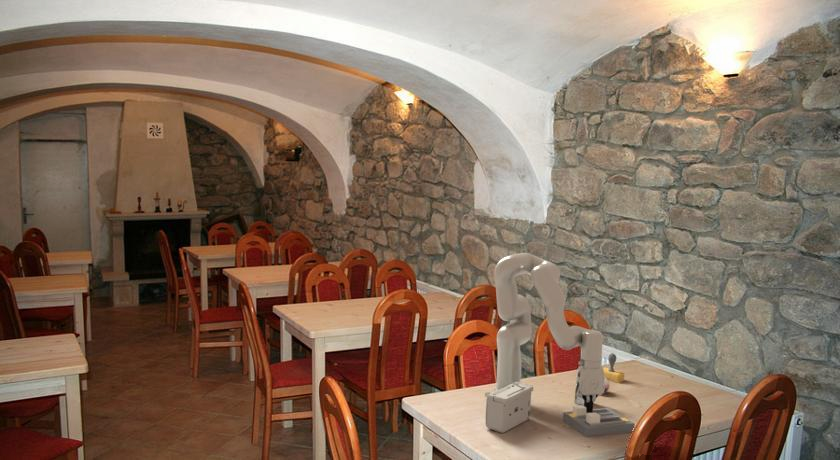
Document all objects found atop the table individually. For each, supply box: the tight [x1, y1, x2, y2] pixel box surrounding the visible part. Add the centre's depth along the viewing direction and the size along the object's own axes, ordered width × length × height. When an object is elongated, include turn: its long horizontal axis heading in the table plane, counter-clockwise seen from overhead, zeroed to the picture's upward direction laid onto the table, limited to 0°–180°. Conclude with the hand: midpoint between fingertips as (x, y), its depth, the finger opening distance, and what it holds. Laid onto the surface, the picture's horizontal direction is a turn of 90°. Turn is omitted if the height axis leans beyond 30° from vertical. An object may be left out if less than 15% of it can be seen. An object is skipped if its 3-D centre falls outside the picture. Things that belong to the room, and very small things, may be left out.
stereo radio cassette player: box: [485, 378, 534, 434], centre depth 241 cm, size 21×8×20 cm, turn 141°
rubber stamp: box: [603, 353, 625, 384], centre depth 299 cm, size 10×6×12 cm, turn 44°
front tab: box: [586, 413, 600, 424], centre depth 238 cm, size 4×3×3 cm
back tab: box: [572, 404, 587, 416], centre depth 245 cm, size 4×3×3 cm
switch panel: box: [562, 407, 635, 438], centre depth 243 cm, size 20×16×4 cm
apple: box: [602, 377, 610, 395], centre depth 280 cm, size 8×8×7 cm
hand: (588, 411), depth 246 cm, fingers closed
